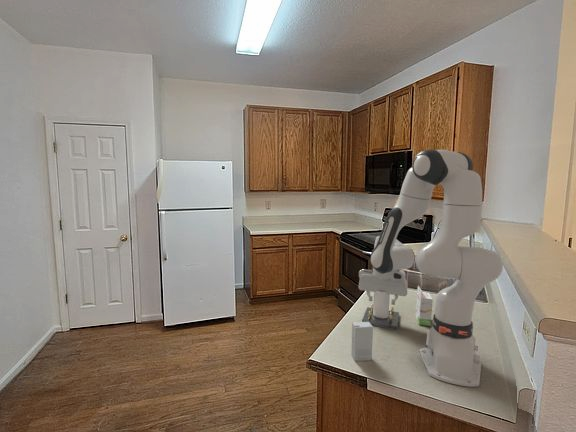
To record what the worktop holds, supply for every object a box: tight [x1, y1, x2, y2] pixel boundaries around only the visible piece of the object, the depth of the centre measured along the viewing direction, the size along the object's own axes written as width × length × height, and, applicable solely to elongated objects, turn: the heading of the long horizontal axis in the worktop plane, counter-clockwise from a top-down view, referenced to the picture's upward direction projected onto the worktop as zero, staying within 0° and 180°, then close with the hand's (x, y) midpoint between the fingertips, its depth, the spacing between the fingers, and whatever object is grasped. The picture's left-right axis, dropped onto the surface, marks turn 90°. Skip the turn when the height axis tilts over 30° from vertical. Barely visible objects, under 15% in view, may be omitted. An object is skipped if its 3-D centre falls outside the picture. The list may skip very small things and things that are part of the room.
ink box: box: [415, 285, 434, 327], centre depth 138 cm, size 9×5×15 cm, turn 168°
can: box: [373, 290, 391, 319], centre depth 139 cm, size 6×6×12 cm
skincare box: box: [351, 321, 374, 362], centre depth 109 cm, size 6×4×12 cm
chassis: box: [361, 303, 400, 331], centre depth 140 cm, size 15×14×4 cm
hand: (381, 302), depth 139 cm, fingers open, 8 cm apart
